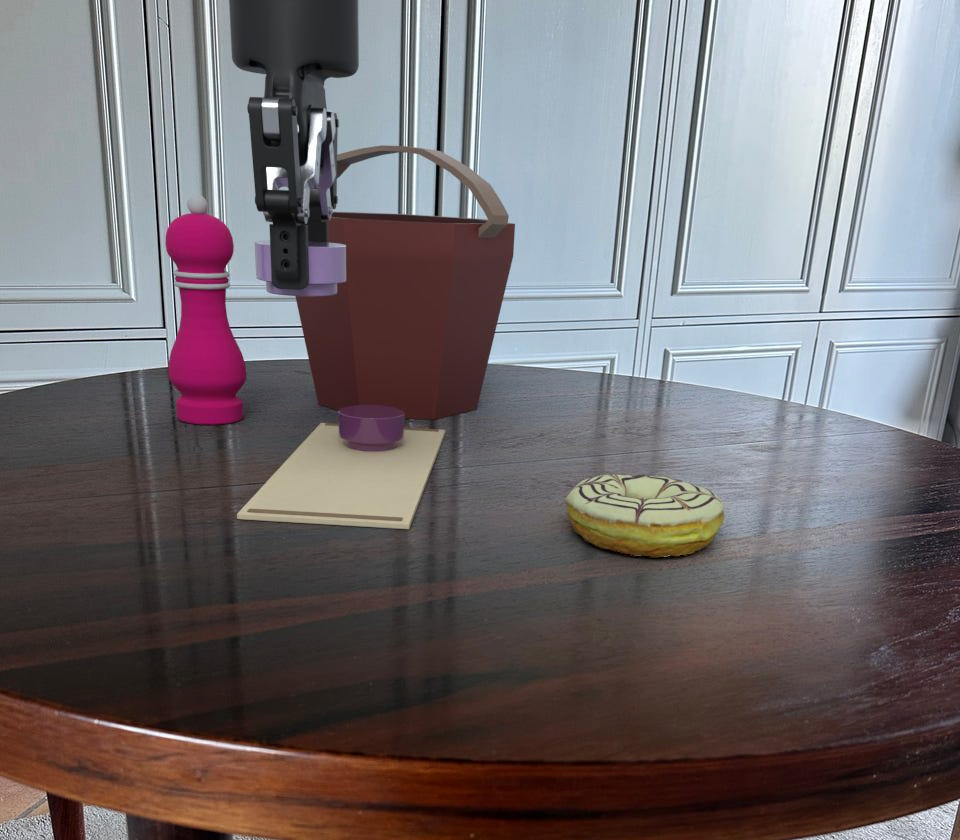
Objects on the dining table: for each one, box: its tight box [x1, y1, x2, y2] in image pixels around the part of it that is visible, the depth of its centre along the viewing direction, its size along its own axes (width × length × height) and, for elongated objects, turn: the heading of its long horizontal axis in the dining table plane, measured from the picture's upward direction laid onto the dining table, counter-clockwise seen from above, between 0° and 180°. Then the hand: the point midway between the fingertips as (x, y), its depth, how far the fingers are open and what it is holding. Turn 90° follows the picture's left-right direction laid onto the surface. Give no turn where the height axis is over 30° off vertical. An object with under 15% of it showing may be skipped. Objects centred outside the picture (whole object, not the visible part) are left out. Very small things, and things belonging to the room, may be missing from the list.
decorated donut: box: [564, 474, 725, 558], centre depth 70 cm, size 10×11×4 cm
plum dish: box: [337, 405, 406, 452], centre depth 90 cm, size 6×6×3 cm
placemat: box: [236, 422, 446, 530], centre depth 84 cm, size 12×30×1 cm, turn 177°
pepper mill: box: [165, 193, 248, 426], centre depth 95 cm, size 7×7×20 cm
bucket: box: [294, 145, 516, 421], centre depth 106 cm, size 24×22×25 cm
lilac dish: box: [254, 240, 347, 297], centre depth 66 cm, size 6×6×3 cm
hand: (301, 283), depth 67 cm, fingers closed on lilac dish, 5 cm apart
